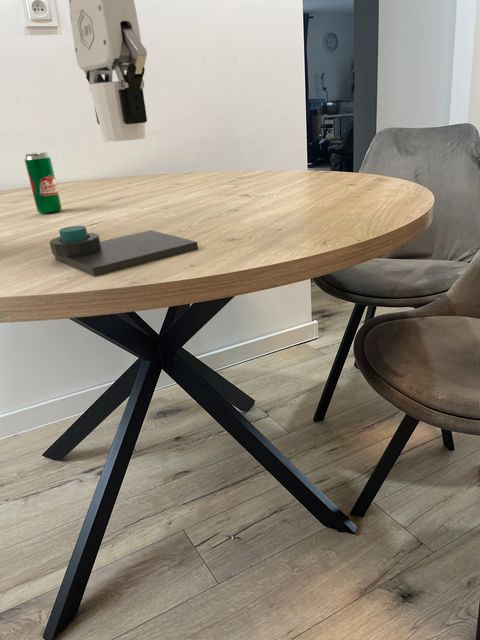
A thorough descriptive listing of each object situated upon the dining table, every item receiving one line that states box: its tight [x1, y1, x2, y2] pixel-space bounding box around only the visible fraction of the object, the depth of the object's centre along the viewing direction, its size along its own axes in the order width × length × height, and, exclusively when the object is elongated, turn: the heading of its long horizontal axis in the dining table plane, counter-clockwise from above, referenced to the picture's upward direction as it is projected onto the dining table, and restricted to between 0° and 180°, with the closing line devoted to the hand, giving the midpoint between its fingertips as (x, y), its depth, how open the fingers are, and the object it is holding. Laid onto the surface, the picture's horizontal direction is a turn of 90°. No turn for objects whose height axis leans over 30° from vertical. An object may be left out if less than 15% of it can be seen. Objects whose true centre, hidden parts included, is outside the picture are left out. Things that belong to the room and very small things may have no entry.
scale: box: [49, 229, 199, 278], centre depth 73 cm, size 17×14×3 cm
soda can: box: [24, 151, 63, 215], centre depth 108 cm, size 5×5×12 cm
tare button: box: [58, 225, 88, 242], centre depth 72 cm, size 4×4×2 cm
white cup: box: [88, 80, 146, 142], centre depth 69 cm, size 7×7×7 cm
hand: (121, 122), depth 70 cm, fingers closed on white cup, 6 cm apart
